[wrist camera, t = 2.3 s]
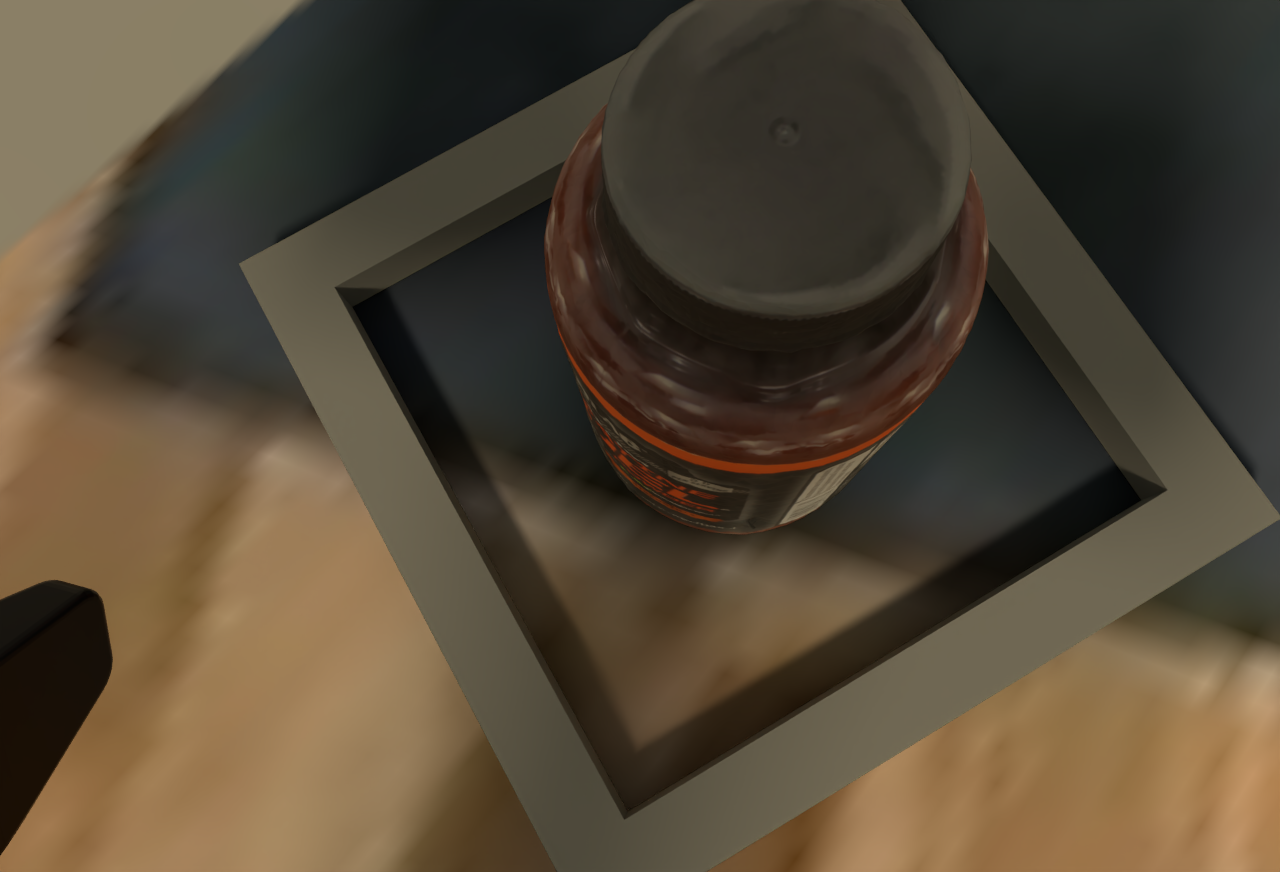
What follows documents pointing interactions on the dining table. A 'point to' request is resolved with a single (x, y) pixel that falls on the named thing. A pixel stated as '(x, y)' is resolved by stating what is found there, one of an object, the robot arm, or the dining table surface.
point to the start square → (860, 705)
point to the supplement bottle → (765, 253)
